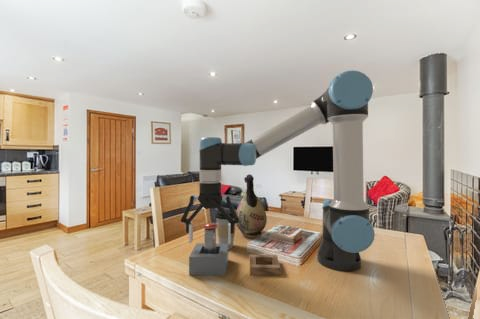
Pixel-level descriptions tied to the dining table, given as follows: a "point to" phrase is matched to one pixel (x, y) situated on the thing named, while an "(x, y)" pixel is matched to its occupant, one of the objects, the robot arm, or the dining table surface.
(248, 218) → the ceramic jug
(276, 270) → the mount collar
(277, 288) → the dining table surface
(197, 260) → the block
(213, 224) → the lock pin
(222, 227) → the coffee cup
